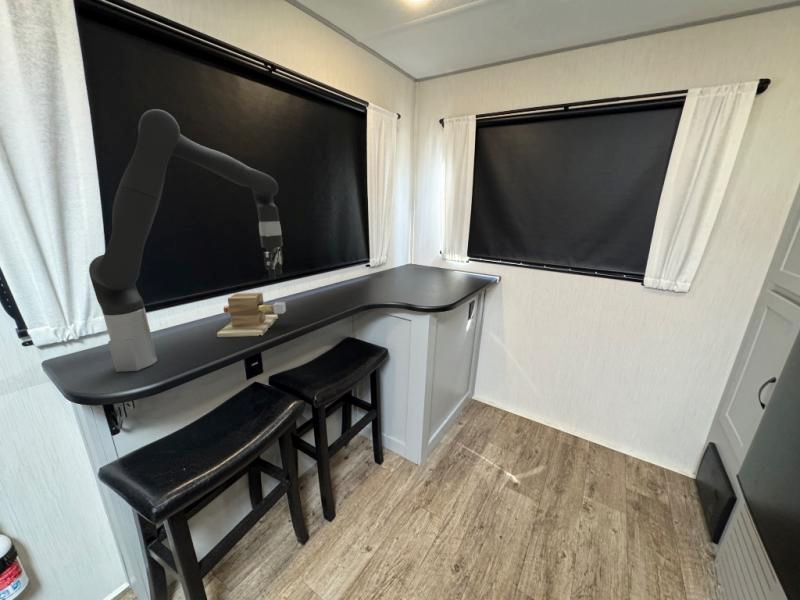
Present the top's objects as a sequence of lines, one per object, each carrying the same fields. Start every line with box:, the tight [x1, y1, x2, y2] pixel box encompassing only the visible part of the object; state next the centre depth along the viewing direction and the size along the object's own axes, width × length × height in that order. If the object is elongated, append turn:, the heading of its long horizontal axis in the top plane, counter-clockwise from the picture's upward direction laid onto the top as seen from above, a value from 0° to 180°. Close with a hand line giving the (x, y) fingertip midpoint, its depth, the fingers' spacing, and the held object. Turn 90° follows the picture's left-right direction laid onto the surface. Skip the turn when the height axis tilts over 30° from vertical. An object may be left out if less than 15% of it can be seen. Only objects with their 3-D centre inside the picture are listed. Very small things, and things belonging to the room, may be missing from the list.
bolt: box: [223, 301, 287, 315], centre depth 125 cm, size 4×23×4 cm, turn 94°
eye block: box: [216, 292, 279, 338], centre depth 125 cm, size 20×16×13 cm
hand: (275, 276), depth 122 cm, fingers open, 8 cm apart
